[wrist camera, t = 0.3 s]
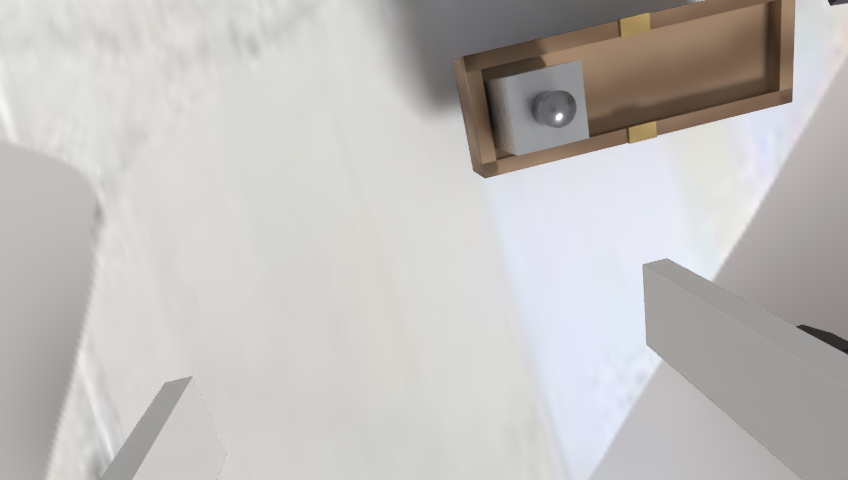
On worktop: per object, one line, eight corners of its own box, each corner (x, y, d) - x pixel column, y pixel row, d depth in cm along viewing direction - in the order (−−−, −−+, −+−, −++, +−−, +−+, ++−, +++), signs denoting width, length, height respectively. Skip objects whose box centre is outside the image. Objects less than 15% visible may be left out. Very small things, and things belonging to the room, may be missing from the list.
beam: (442, 64, 36) (463, 55, 29) (713, 1, 38) (798, -23, 30) (462, 164, 39) (486, 179, 32) (715, 102, 40) (794, 102, 33)
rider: (483, 81, 31) (514, 76, 25) (547, 65, 31) (593, 57, 25) (494, 147, 32) (526, 158, 26) (556, 132, 32) (601, 140, 26)
